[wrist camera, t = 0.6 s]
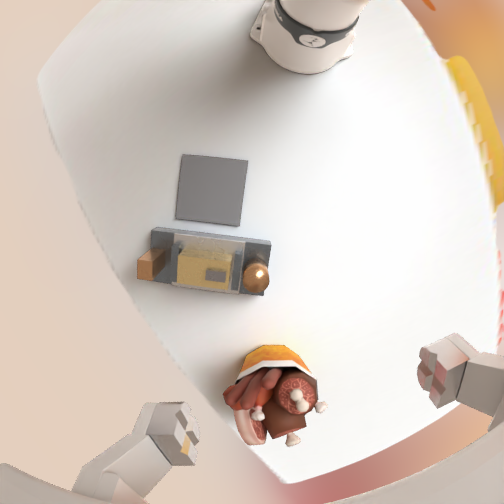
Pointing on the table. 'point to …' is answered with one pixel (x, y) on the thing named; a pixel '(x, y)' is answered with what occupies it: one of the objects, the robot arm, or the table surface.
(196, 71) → the table surface
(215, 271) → the tan rectangular block
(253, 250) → the hand plane
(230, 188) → the mat
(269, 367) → the fried chicken
